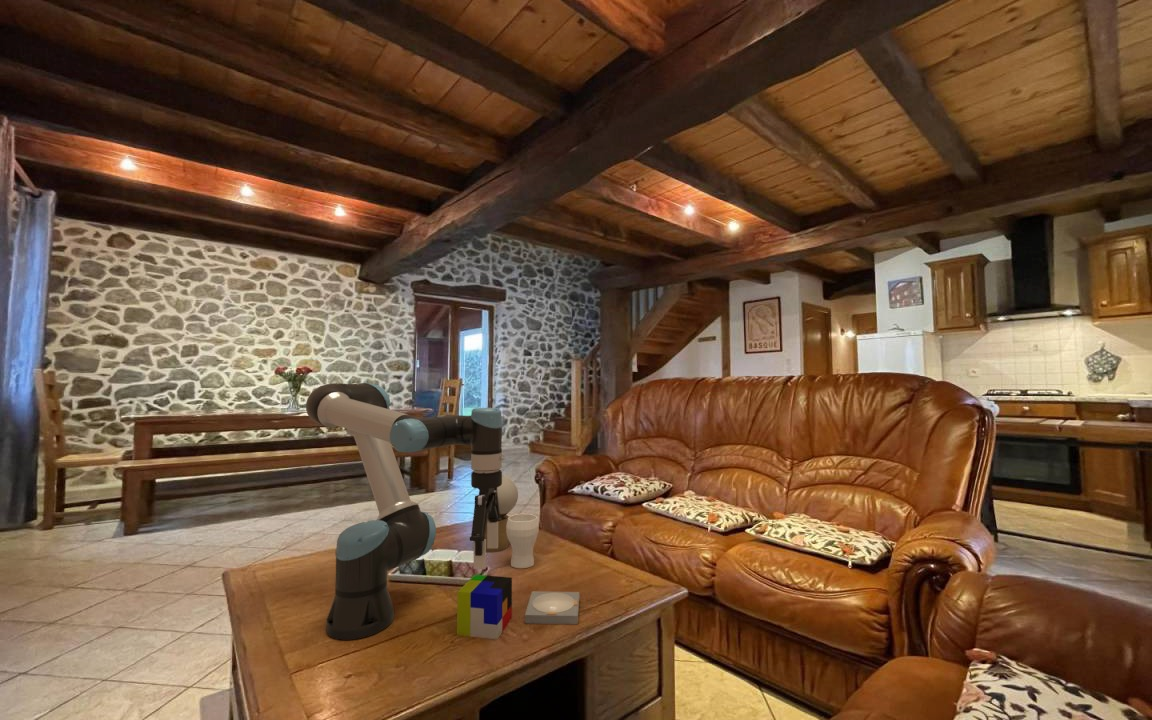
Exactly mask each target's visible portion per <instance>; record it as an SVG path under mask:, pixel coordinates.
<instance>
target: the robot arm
mask: <svg viewBox="0 0 1152 720" xmlns="http://www.w3.org/2000/svg"><path fill="white" fill-rule="evenodd" d="M390 406H391V399H390V396H389V394H388V392H387V391H386V390H385V389H384V388H383V387H382V386H380V385H378V384H375V383H368V382H361V383H335V382H334V383H327V384H322V385H321V386H318V387H316V388H315V389H313V391H311V393H310V394H309V395H308V397H307V399H306V402H305V410H306V414H307V416H308V417H309V419H310V420H311V421H313V422H314V423H316V424H319V425H321V426H324V427H327V428H337V427H340V428H343V429H345V432H346V434H347V435H349V436H352V437H353V438H354V441H355V444H356V447H357V450H358V452H359V455H360V460H361V463H362V465H363V468H364V472H365V474H366V477H367V481H368V484H369V486H370V489H371V493H372V494H373V495H372V496H373V498H374V501H375V503H376V507H377V511H378V517H377V518H376V519H375V520H374V519H372V520H367V521H362V522H358V523H355V524H352V525H351V526H348V527H347V528H345V529H344V530H342V531H341V533H340V534H339V535H338V537H337V540H336V548H335V552H334V553H335V554H334V556H335V579H334V580H335V582H334V583H335V585H334V587H335V591H334V593H335V594H334V599H333V601H332V604H331V606H330V609H329V612H328V615H327V618H326V622H325V633H326V635H327V634H328V635H329V636H330V637H329V636H328V635H327V636H328V637H329V638H331V637H332V638H331V639H334V638H335V640H339V641H343V640H344V641H348V640H349V641H350V640H351V641H352V640H358V639H362V638H367V637H369V636H373V635H375V634H377V633H380V632H382V631H383V630H385V629H386V628H388V627H389V626H390V625H391V624H392V623H393V621H394V615H395V610H394V609H395V607H394V604H393V601H392V599H391V595H390V592H389V590H388V572H389V571H391V570H393V569H396V568H398V567H400V566H402V565H405V564H407V563H410V562H412V561H415V560H418V559H419V558H421V557H423V556H424V555H426V554H428V553H429V552H430V551H431V550H432V549H433V546H434V544H435V540H436V538H437V526H436V522H435V520H434V518H433V516H431V515H430V514H429V513H428V512H426V511H421V509H420V505H419V503H418V502H416V501H415V502H414V501H413V500H412V499H411V498H410V495H409V492H408V488H407V486H406V483H405V481H404V478H403V476H402V472H401V469H400V466H399V463H398V461H397V458H396V455H395V453H394V450H393V448H394V449H395V451H397V452H400V453H416V452H419V451H424V450H431V449H436V448H442V447H448V446H449V447H450V446H454V445H455V446H456V445H458V446H459V445H460V446H461V445H463V446H470V447H471V449H470V451H471V453H470V454H471V455H470V459H471V460H470V461H471V462H470V469H471V474H470V475H471V477H470V478H471V479H470V483H471V485H470V486H471V487H472V488H473V489H478V495H475V496H474V509H473V516H472V517H473V518H472V525H471V533H470V534H471V535H470V537H469V541H470V542H473V570H486V568H487V552H486V539H485V533H486V526H487V548H498V522H497V521H501V517H499V516H500V511H499V502H498V493H497V487H499V486H501V485H502V476H503V471H502V470H501V469H502V466H503V461H504V460H505V457H504V456H503V455H502V451H503V448H502V443H503V442H502V440H503V426H504V425H503V419H502V418H503V416H502V411H501V409H500V408H497V407H476V408H473V409H472V410H471V414H470V415H463V414H462V415H460V414H459V415H458V414H443V415H439V416H432V417H431V416H430V417H418V416H414V415H412V414H408V413H403V412H402V411H401V412H400V411H396V410H393V409H391V408H390ZM487 520H488V521H490V522H488V523H487ZM477 534H480V535H477ZM366 636H367V637H366ZM340 639H341V640H340Z"/></svg>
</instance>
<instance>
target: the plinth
mask: <svg viewBox="0 0 1152 720" xmlns="http://www.w3.org/2000/svg"><path fill="white" fill-rule="evenodd" d="M579 610H580V591H538V590H537V591H533V590H532V591H531V594H530V596H529V599H528V604H527V607H526V610H525V613H524V624H534V625H537V624H538V625H539V624H540V625H541V624H542V625H543V624H544V625H545V624H547V625H548V624H549V625H553V624H554V625H578V623H579Z"/></svg>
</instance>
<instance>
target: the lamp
mask: <svg viewBox="0 0 1152 720" xmlns="http://www.w3.org/2000/svg"><path fill="white" fill-rule="evenodd" d="M497 493H498V502H499V511H500V516H499V517H501V521H497V522H498V548H487V526H486V533H485V539H486V553H497V552H501V551H504V550H506V549H507V548H508V547H509V540H508V536H507V532H506V526H507V521H508V518H509V516H508V514H509V513H510V512H511V511H512V510H513V509H515V507H516V504H517V503H518V500H519V491H518V488H517V485H516V483H515V482H513V480H511V479H510V477H509V478H508V477H506V476H503V475H502V485H501V486H499V487H497ZM488 522H490V521H488V520H487V523H488ZM477 535H480V534H477Z"/></svg>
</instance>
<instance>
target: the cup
mask: <svg viewBox="0 0 1152 720" xmlns="http://www.w3.org/2000/svg"><path fill="white" fill-rule="evenodd" d="M539 528H540V525H539V521H538V517H537V515H535V514H531V513H517V514H512V515H509V516H508V521H507V526H506V532H507V536H508V543H509V545H510V546H511V557H510V567H513V568H515V569H526V568H531V567H532V566H534V565H535V558H534V545H535V543H536V541H537V539H538V535H539V532H540V531H539Z"/></svg>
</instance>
